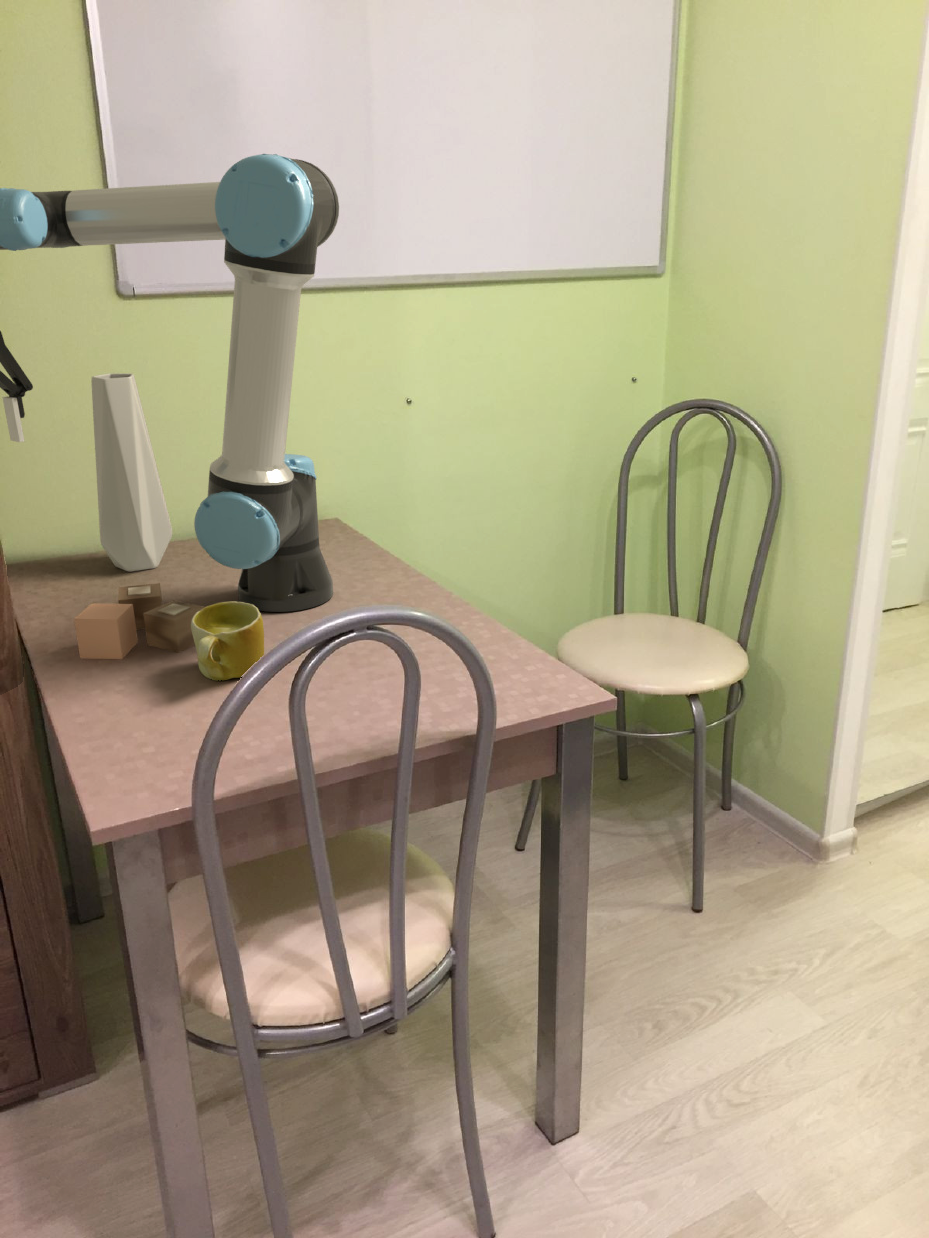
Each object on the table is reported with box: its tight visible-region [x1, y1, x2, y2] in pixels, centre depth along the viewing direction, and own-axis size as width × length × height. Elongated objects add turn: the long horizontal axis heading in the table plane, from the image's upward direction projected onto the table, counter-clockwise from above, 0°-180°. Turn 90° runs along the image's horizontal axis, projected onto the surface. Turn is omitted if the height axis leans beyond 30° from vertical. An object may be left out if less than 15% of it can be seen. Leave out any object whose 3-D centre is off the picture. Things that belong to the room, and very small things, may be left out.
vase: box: [91, 372, 173, 573], centre depth 174 cm, size 12×12×33 cm
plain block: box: [73, 602, 139, 660], centre depth 143 cm, size 6×6×6 cm
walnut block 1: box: [117, 582, 164, 631], centre depth 153 cm, size 6×6×5 cm
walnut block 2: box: [143, 599, 206, 653], centre depth 145 cm, size 6×6×5 cm
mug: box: [191, 600, 265, 682], centre depth 135 cm, size 12×10×10 cm
